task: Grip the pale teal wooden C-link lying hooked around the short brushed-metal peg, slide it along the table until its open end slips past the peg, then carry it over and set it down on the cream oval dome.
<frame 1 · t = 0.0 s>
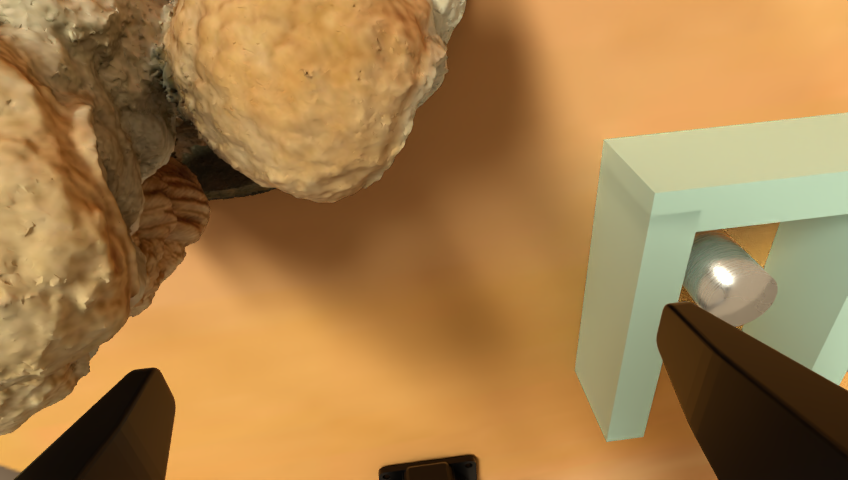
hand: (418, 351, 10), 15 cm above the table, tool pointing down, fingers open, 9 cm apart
peg: (678, 230, 27), on the table
owl figurine: (243, 29, 20), on the table
c link: (695, 266, 29), on the table
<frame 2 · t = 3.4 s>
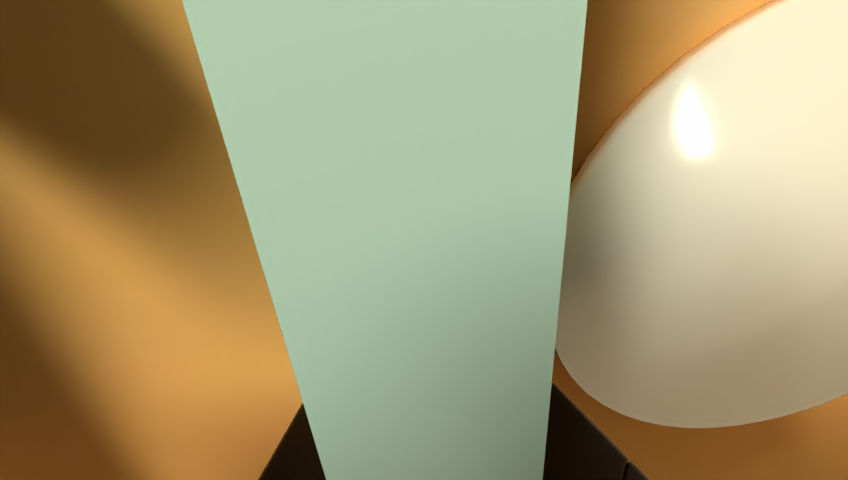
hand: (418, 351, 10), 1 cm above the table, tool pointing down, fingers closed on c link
cream oval dome: (792, 246, 11), on the table
c link: (4, 48, 7), on the table, touching gripper
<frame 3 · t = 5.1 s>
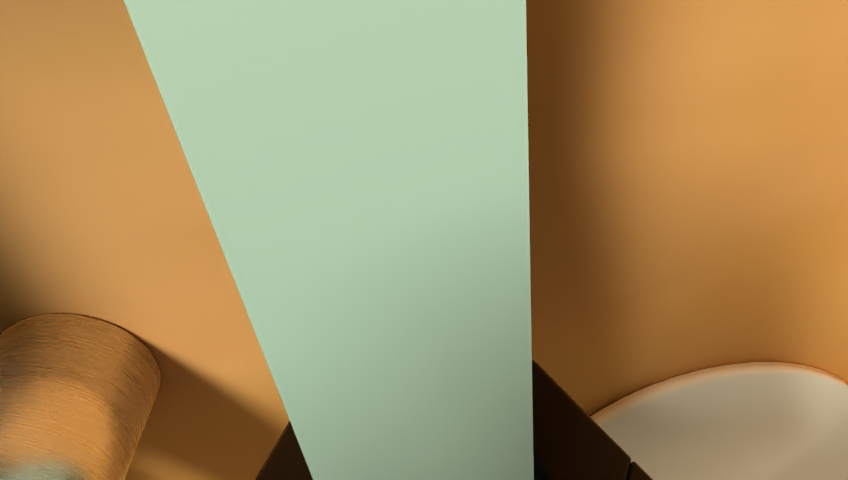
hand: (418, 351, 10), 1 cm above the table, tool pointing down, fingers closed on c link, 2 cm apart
peg: (79, 371, 11), on the table
c link: (4, 82, 7), on the table, touching gripper
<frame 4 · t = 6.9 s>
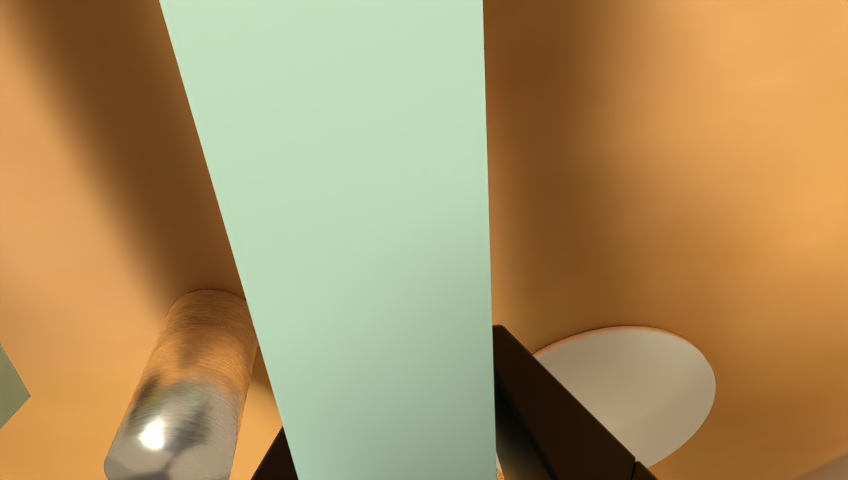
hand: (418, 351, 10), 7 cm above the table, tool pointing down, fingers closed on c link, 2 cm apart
cream oval dome: (595, 412, 23), on the table
peg: (215, 323, 18), on the table
c link: (80, 56, 8), point 5 cm above the table, tilted 10°, touching gripper
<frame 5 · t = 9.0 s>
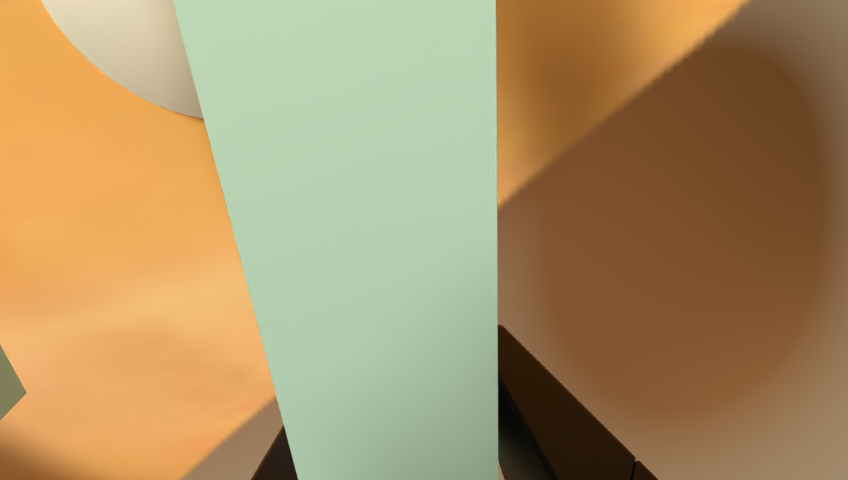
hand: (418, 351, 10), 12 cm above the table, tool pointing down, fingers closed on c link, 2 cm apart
c link: (84, 51, 8), point 10 cm above the table, tilted 10°, touching gripper
when the fingers open (3 cm above the table, at t = 10.8 s): c link stays where it is, resting on cream oval dome.
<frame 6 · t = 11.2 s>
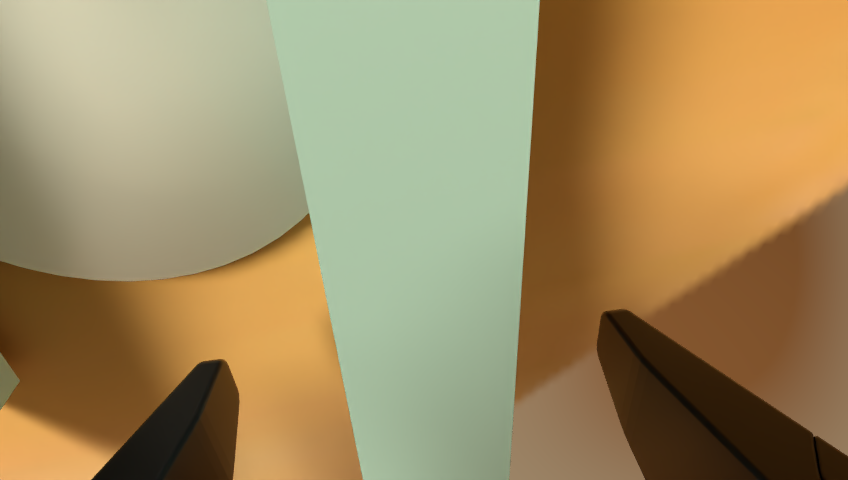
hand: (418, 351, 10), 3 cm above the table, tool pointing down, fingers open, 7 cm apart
cream oval dome: (63, 18, 9), on the table
c link: (72, 50, 8), resting on cream oval dome
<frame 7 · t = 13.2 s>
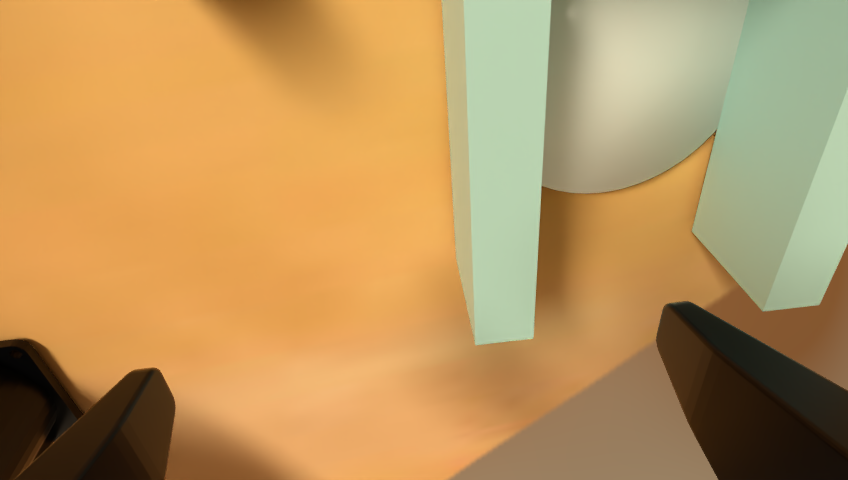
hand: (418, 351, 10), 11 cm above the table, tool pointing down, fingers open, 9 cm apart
cream oval dome: (612, 62, 19), on the table
c link: (619, 76, 19), resting on cream oval dome
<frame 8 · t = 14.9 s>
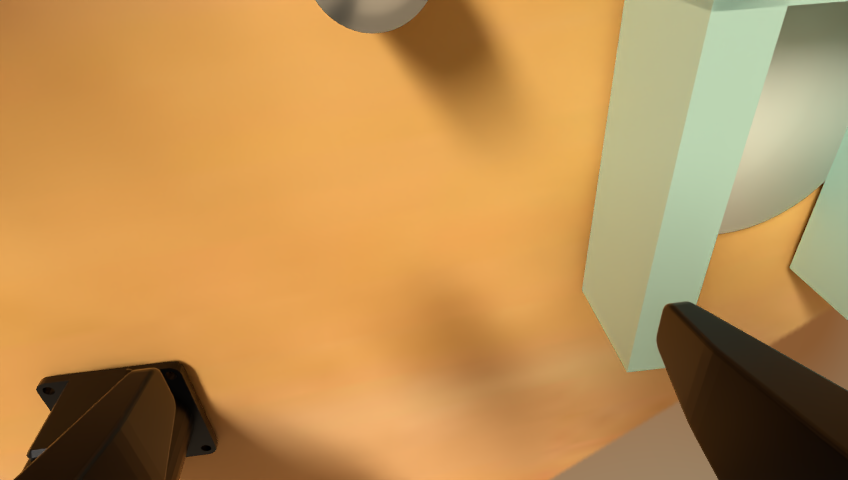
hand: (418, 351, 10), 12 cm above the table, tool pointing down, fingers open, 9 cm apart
cream oval dome: (744, 123, 21), on the table
c link: (750, 136, 21), resting on cream oval dome
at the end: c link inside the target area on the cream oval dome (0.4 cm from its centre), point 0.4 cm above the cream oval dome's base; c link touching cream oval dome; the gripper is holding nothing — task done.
